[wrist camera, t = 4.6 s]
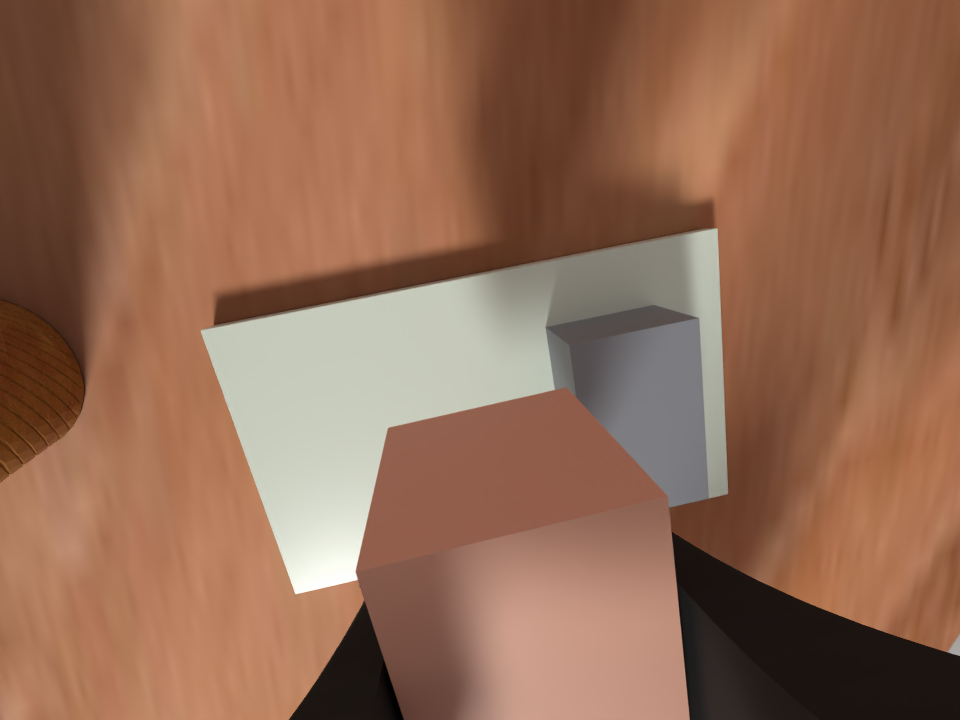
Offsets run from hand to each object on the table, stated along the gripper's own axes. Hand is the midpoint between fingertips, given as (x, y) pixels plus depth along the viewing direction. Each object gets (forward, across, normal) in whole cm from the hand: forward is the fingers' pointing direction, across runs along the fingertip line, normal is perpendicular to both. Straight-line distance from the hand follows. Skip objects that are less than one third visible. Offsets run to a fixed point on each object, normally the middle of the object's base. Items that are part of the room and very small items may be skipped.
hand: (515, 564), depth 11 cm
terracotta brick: (+1, 0, 0) cm, 1 cm away
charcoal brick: (+8, -6, 0) cm, 10 cm away
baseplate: (+9, -1, 0) cm, 9 cm away
